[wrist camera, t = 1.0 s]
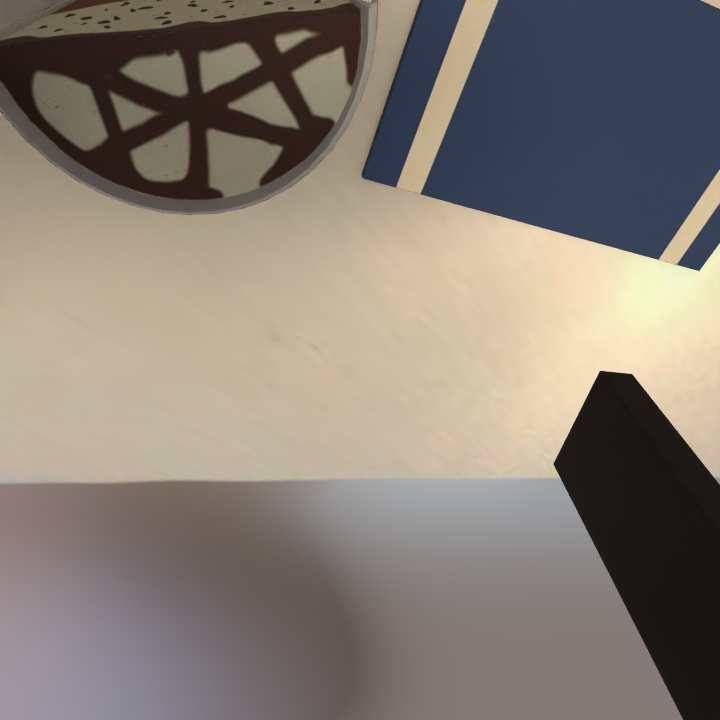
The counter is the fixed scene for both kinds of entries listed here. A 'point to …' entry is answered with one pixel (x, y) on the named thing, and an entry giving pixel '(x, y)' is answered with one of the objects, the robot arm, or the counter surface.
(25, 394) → the counter surface
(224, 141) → the food container
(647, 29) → the cloth
